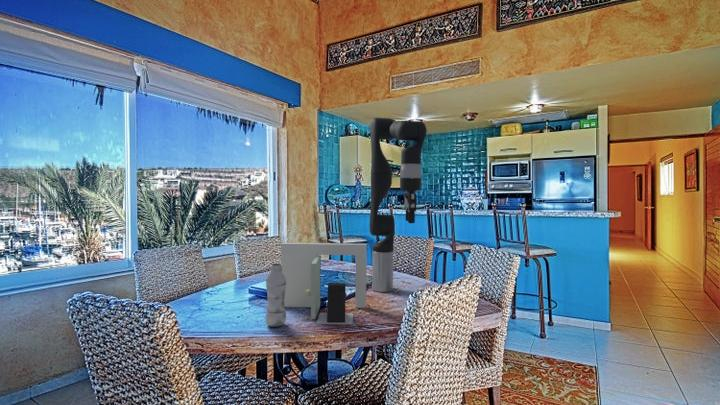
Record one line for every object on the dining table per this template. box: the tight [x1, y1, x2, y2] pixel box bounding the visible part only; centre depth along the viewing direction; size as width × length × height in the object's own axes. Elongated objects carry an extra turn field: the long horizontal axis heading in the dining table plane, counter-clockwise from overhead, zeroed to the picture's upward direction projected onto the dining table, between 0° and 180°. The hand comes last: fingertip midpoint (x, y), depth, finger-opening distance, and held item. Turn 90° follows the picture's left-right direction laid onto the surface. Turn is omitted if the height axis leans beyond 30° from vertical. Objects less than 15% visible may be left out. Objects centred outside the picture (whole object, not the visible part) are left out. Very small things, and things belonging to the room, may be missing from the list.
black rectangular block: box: [326, 282, 346, 322], centre depth 131 cm, size 9×6×12 cm, turn 1°
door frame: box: [280, 242, 368, 325], centre depth 135 cm, size 19×32×24 cm, turn 89°
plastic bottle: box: [264, 263, 287, 328], centre depth 124 cm, size 6×7×20 cm
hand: (409, 221), depth 137 cm, fingers open, 8 cm apart
